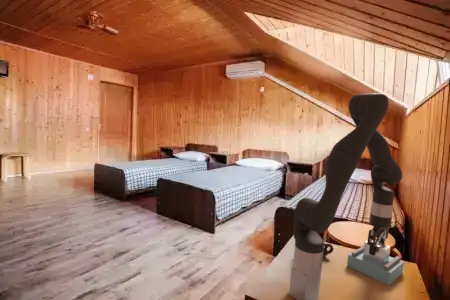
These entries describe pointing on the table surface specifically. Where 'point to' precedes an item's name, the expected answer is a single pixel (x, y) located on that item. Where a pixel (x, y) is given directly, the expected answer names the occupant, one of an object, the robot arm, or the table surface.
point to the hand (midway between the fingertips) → (376, 251)
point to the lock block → (377, 252)
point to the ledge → (376, 266)
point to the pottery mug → (327, 250)
